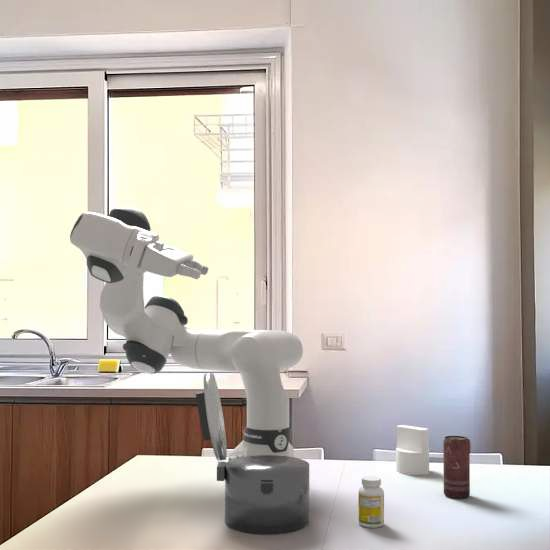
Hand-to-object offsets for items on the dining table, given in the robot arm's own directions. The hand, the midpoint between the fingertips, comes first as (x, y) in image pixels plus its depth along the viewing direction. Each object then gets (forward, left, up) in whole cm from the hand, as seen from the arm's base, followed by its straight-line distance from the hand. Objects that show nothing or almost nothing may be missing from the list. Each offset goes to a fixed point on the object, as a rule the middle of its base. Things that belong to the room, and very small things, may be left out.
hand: (203, 273), depth 153 cm
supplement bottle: (+21, +29, -53) cm, 64 cm away
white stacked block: (-8, +70, -53) cm, 88 cm away
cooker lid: (+2, +3, -31) cm, 31 cm away
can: (+16, +61, -53) cm, 82 cm away
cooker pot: (+7, +12, -53) cm, 54 cm away
